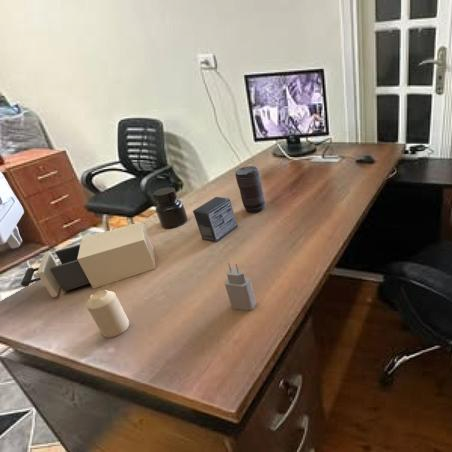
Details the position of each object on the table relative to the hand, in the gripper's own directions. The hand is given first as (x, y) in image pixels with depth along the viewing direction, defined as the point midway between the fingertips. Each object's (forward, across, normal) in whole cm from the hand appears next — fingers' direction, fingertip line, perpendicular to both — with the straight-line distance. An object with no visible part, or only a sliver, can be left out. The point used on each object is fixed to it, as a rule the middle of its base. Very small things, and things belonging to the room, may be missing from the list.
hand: (17, 245), depth 86 cm
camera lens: (+14, -13, +62) cm, 65 cm away
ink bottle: (+15, -21, +35) cm, 44 cm away
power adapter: (+15, +36, +44) cm, 59 cm away
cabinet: (+15, 0, +19) cm, 24 cm away
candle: (+15, +27, +17) cm, 35 cm away
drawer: (+14, 0, +7) cm, 16 cm away
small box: (+14, -3, +47) cm, 49 cm away
